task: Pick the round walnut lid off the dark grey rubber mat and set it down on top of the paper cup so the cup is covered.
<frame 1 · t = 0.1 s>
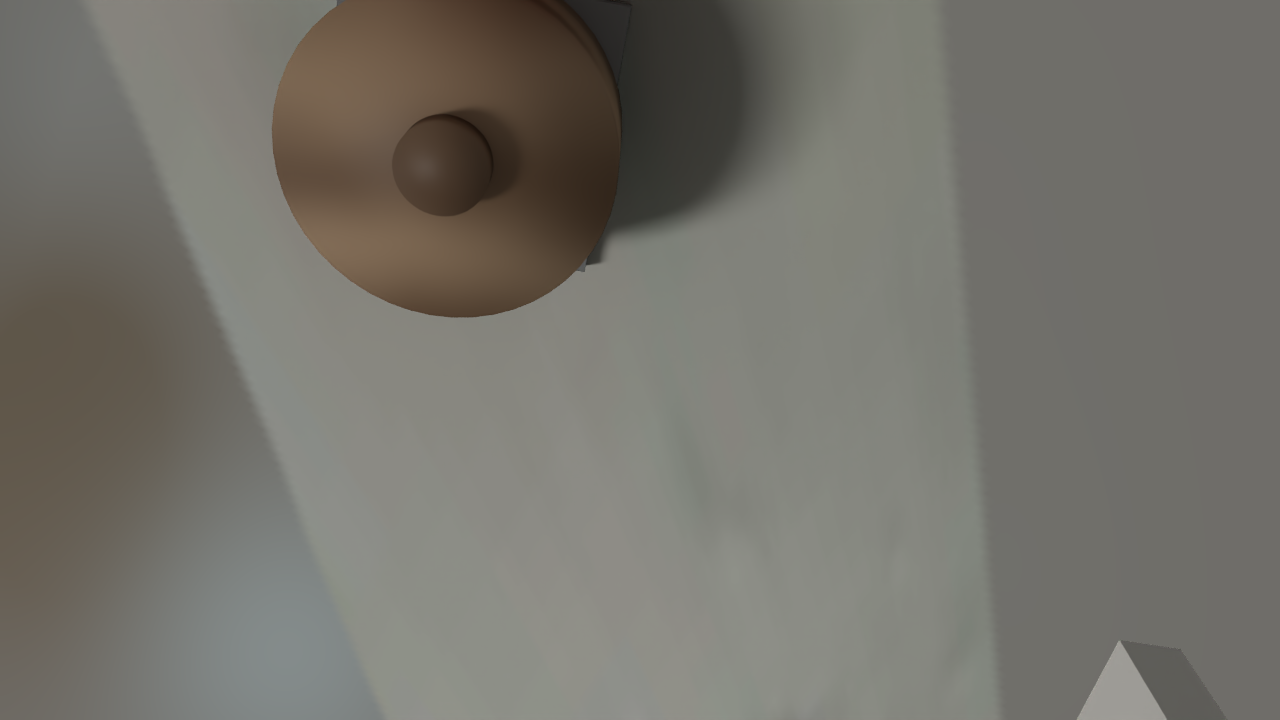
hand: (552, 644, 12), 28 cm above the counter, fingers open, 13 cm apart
mat: (473, 118, 37), on the counter
lid: (471, 122, 36), point 1 cm above the counter, touching mat
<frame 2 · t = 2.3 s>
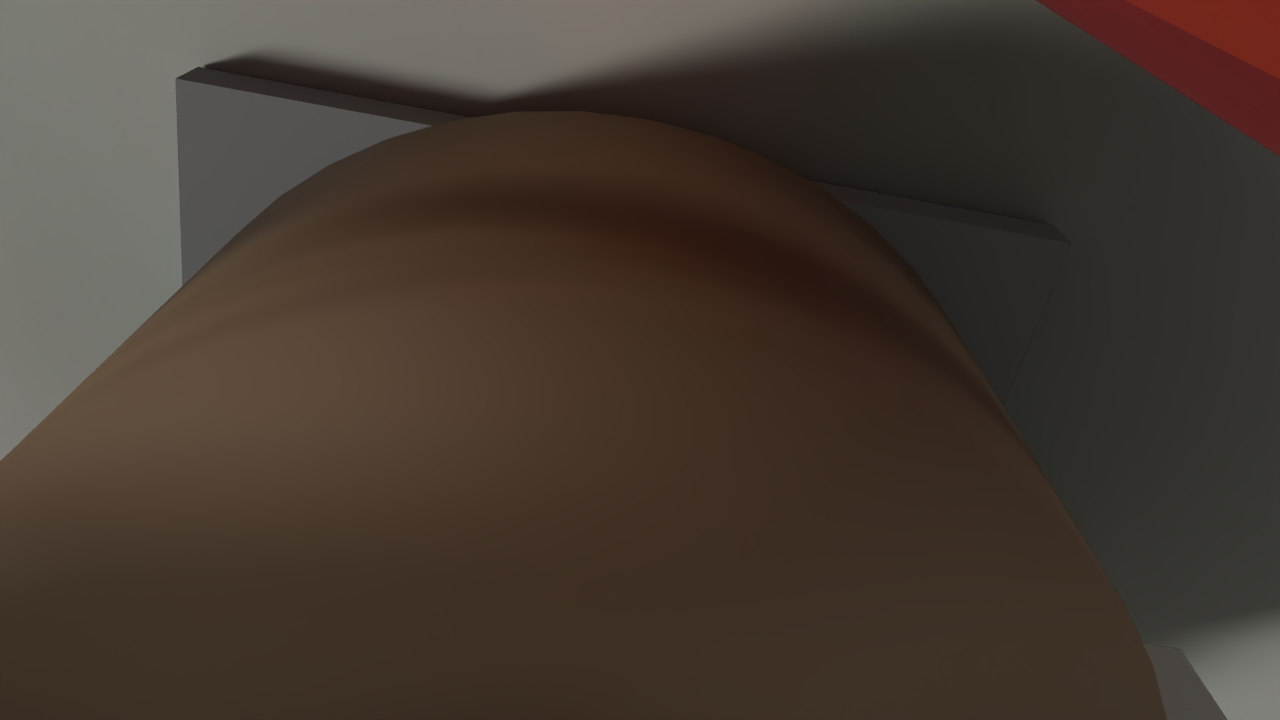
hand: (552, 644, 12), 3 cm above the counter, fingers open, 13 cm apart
mat: (573, 497, 14), on the counter
lid: (570, 523, 13), point 1 cm above the counter, touching mat
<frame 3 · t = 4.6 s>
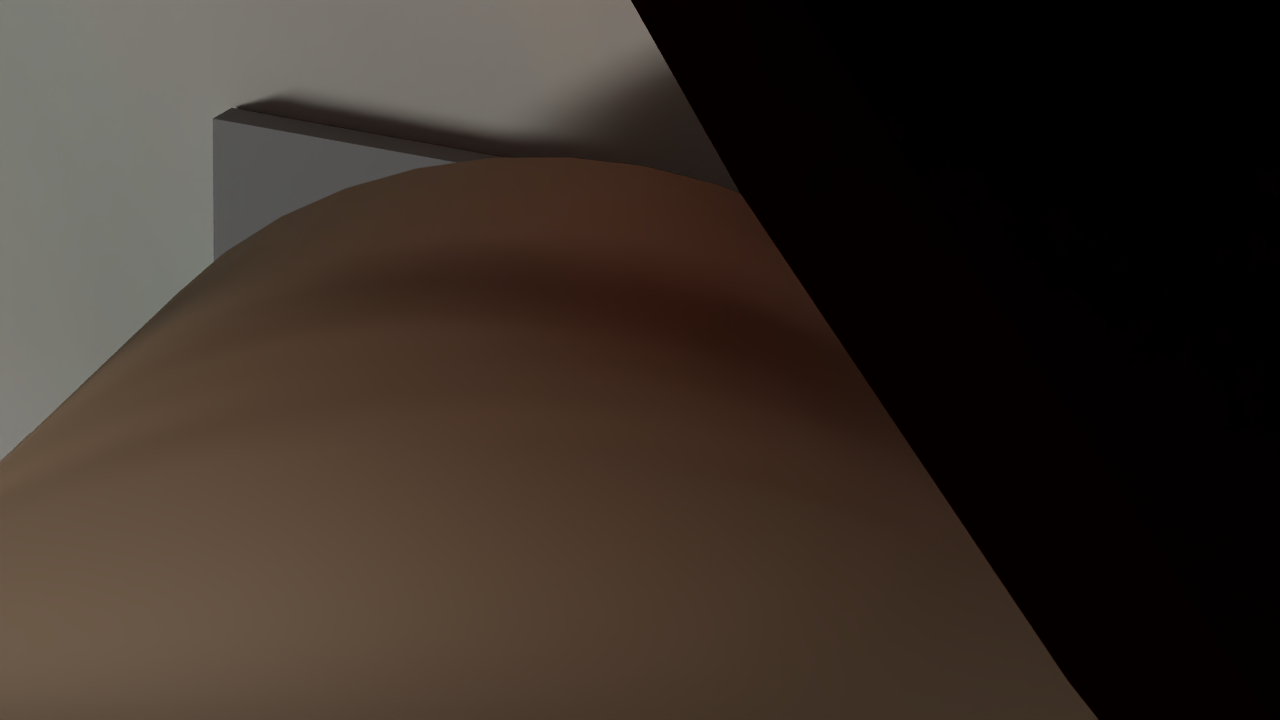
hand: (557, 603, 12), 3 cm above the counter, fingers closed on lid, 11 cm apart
mat: (565, 495, 15), on the counter
lid: (559, 608, 12), point 3 cm above the counter, touching gripper
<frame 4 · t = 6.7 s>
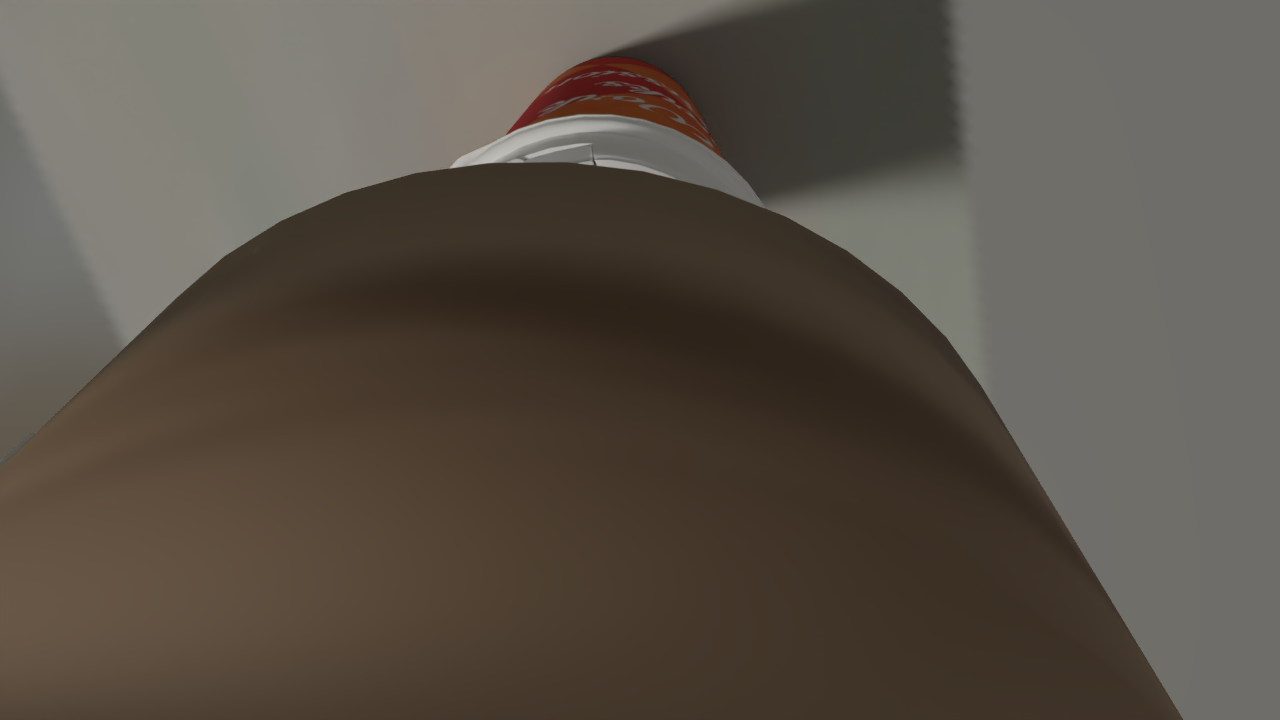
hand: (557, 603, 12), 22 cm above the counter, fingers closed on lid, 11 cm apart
paper cup: (613, 142, 32), on the counter
lid: (558, 612, 12), point 22 cm above the counter, touching gripper
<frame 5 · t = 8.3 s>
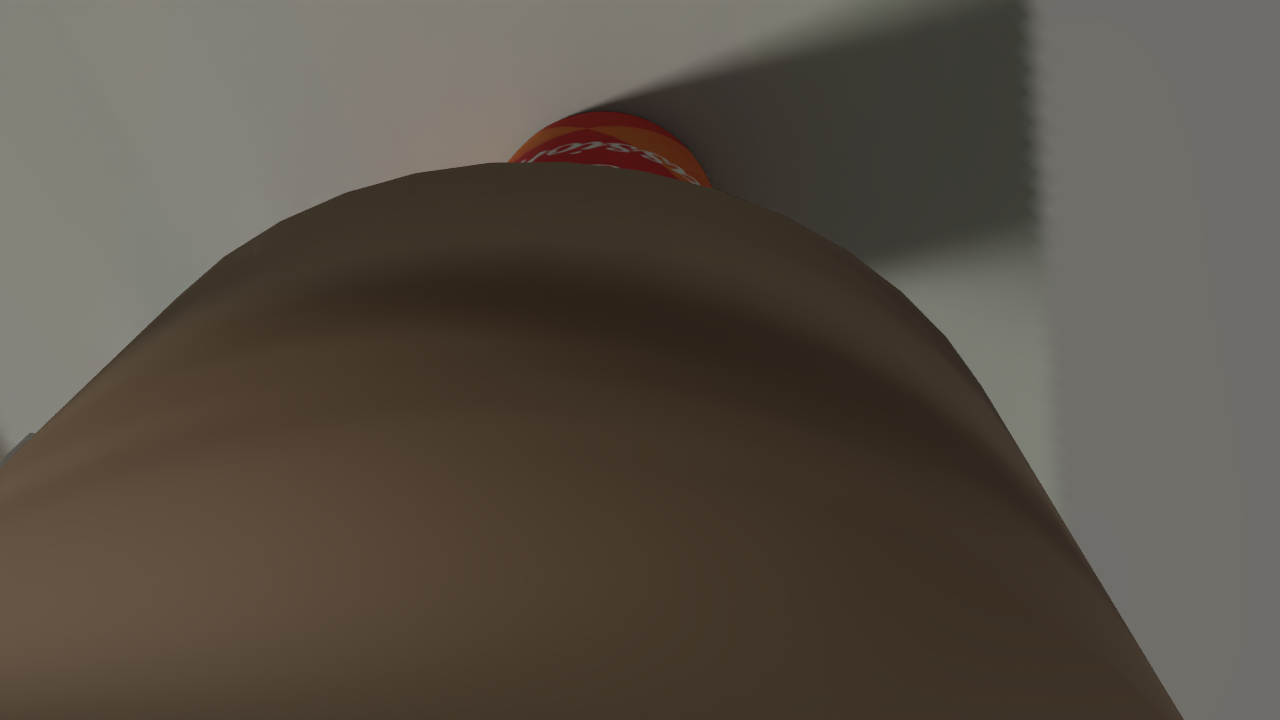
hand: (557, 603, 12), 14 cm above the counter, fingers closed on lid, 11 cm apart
paper cup: (603, 214, 25), on the counter
lid: (558, 612, 12), point 15 cm above the counter, touching gripper
when the fingers open (14 cm above the counter, at t = 9.1 s): lid stays where it is, resting on paper cup.
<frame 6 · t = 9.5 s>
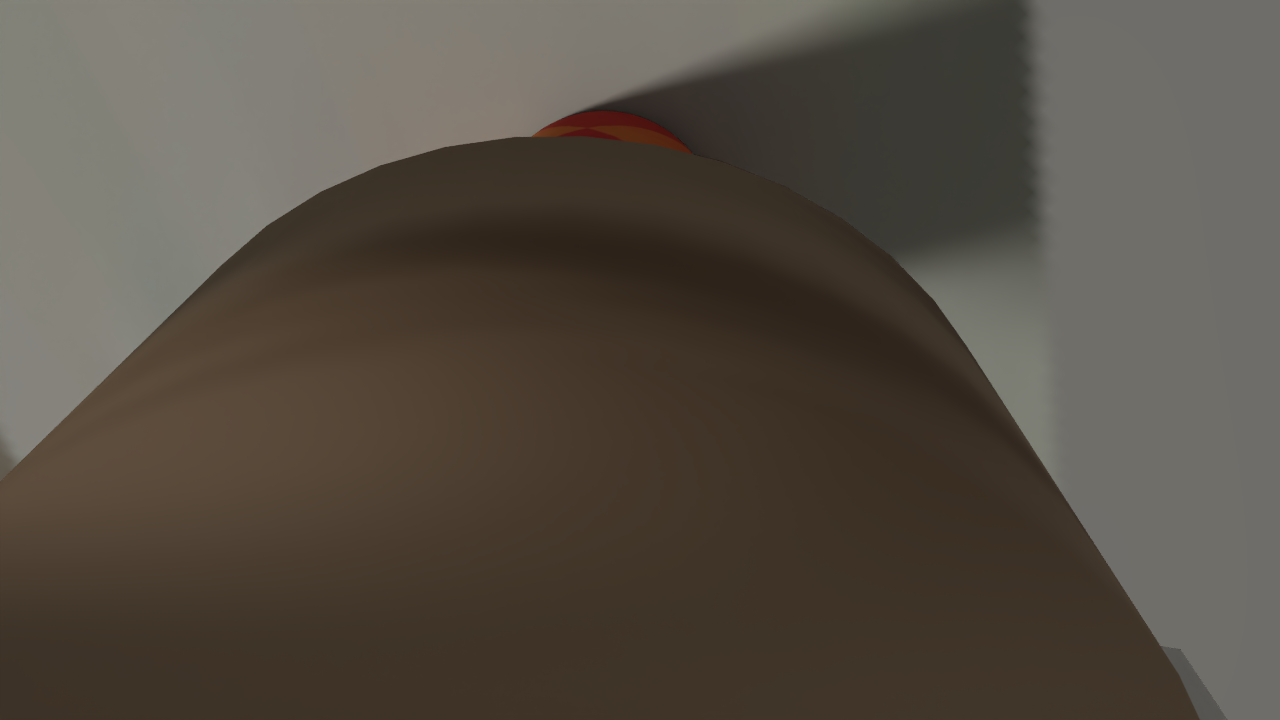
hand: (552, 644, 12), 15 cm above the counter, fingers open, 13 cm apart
paper cup: (603, 214, 25), on the counter, touching lid
lid: (573, 564, 13), point 14 cm above the counter, touching paper cup
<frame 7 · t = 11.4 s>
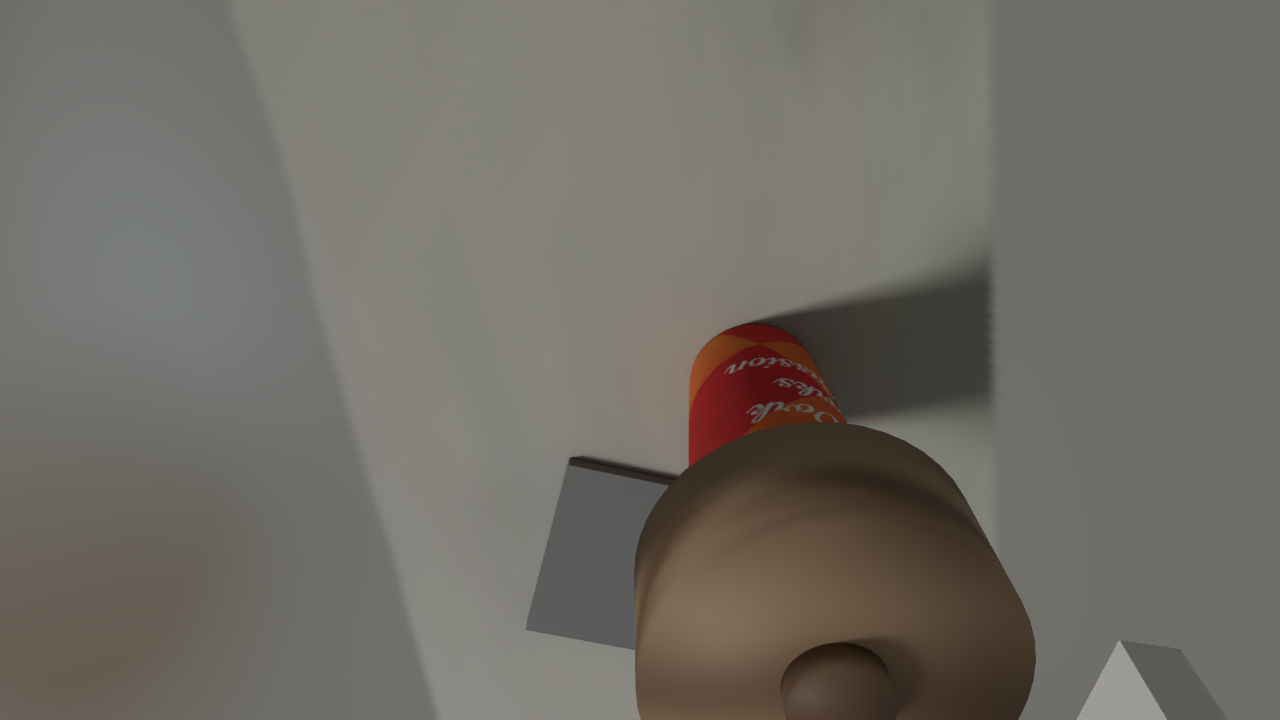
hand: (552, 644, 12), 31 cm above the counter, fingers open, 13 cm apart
paper cup: (749, 376, 45), on the counter, touching lid
mat: (646, 563, 49), on the counter
lid: (805, 570, 32), point 14 cm above the counter, touching paper cup
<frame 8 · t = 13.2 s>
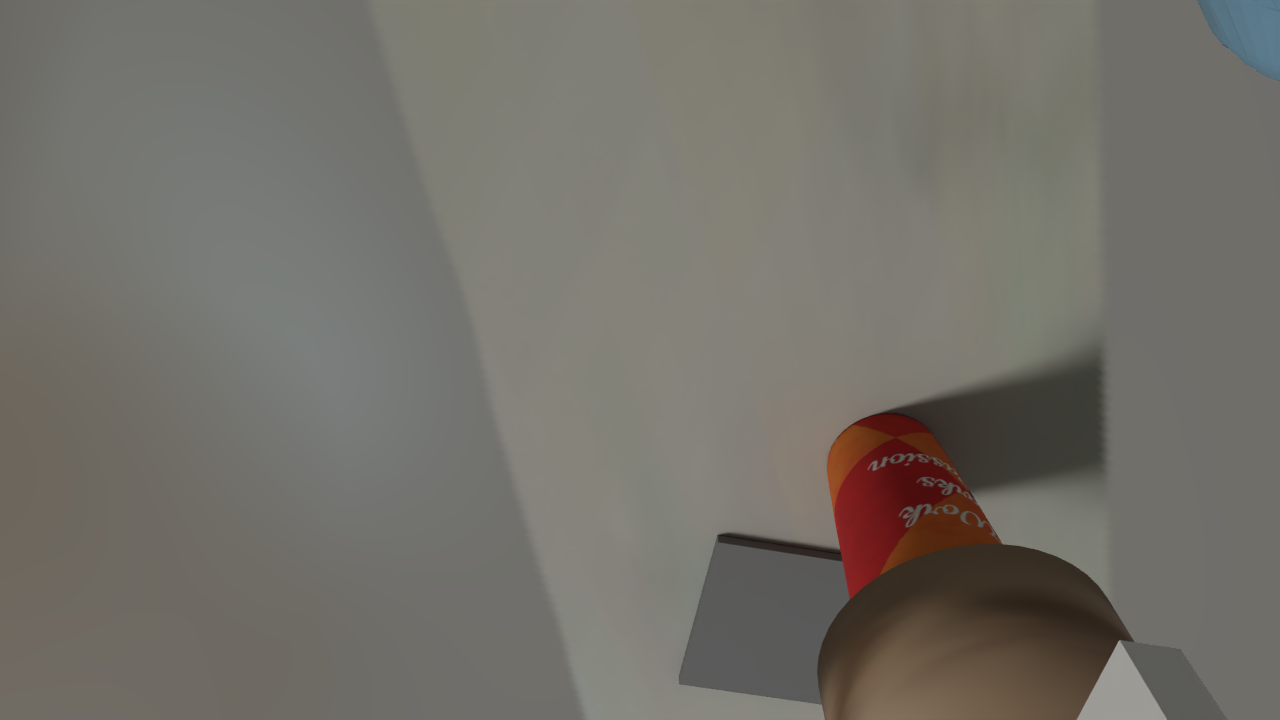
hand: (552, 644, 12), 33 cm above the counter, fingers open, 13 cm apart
paper cup: (880, 458, 49), on the counter, touching lid
mat: (787, 622, 54), on the counter
lid: (966, 663, 37), point 14 cm above the counter, touching paper cup
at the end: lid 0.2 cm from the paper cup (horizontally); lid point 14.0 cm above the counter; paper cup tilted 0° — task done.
